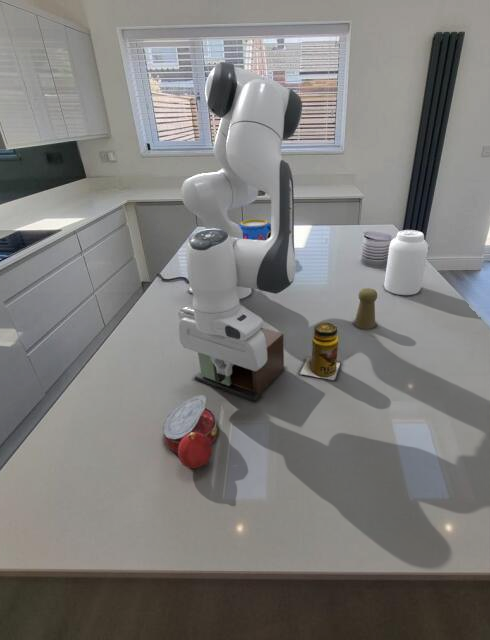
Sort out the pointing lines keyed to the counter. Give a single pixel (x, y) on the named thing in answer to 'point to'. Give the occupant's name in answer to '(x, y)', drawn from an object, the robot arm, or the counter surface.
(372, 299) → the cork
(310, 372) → the condiment
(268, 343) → the cabinet
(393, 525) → the counter surface
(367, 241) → the can
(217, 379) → the sliding door
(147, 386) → the counter surface
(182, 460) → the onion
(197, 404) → the canned food
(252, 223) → the ceramic pot
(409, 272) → the white jar
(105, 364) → the counter surface
